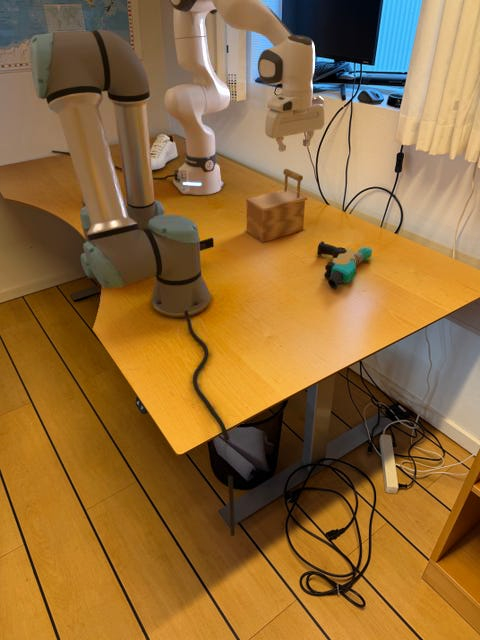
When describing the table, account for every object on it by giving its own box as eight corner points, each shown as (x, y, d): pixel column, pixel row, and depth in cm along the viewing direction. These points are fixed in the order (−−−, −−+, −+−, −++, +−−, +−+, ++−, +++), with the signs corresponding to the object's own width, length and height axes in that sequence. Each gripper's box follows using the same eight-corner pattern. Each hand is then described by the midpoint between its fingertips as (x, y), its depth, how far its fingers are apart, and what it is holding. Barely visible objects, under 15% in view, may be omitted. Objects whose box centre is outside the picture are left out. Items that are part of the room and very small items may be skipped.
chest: (285, 220, 167) (287, 191, 161) (303, 229, 160) (305, 200, 154) (246, 231, 160) (246, 201, 154) (262, 242, 153) (263, 211, 147)
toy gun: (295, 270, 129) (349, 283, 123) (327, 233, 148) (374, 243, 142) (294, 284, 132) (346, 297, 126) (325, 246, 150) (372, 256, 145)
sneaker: (133, 173, 208) (129, 144, 201) (161, 153, 230) (158, 127, 223) (155, 175, 205) (151, 146, 198) (180, 155, 227) (178, 129, 220)
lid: (288, 190, 161) (290, 166, 156) (307, 199, 154) (308, 174, 150) (246, 201, 154) (246, 176, 149) (263, 211, 147) (263, 185, 142)
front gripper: (122, 247, 147) (183, 230, 156) (157, 282, 130) (223, 261, 139) (118, 224, 142) (181, 208, 152) (154, 258, 125) (222, 237, 135)
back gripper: (317, 94, 146) (313, 140, 154) (262, 102, 137) (261, 151, 145) (331, 97, 142) (326, 145, 150) (275, 106, 133) (273, 156, 141)
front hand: (201, 233), depth 145 cm, fingers open, 13 cm apart
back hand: (294, 148), depth 147 cm, fingers open, 8 cm apart
